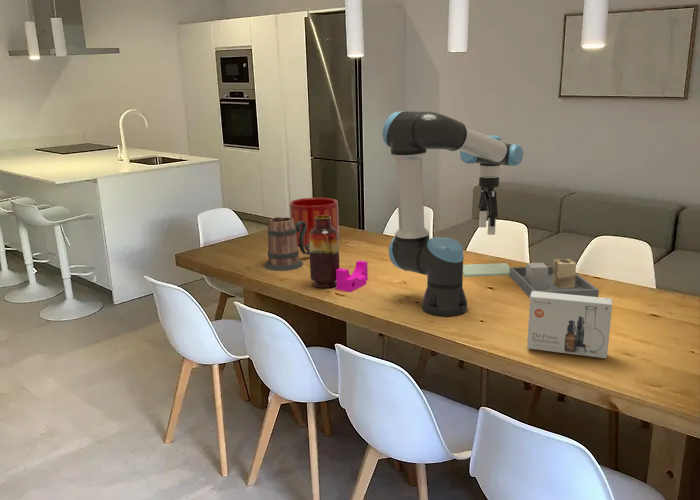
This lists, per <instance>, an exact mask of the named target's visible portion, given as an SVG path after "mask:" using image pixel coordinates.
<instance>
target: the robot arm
mask: <svg viewBox="0 0 700 500" xmlns="http://www.w3.org/2000/svg"><path fill="white" fill-rule="evenodd" d="M381 134H382V139H383V142H384V143H385V145H386V146H388V147H389V148H390V156H391V157H393V158H394V159H395V166H396V167H395V168H396V169H395V170H396V171H395V172H396V190H397V208H398V210H397V211H398V213H397V214H398V229H397V231H395V233H394V237H393V238H392V239H391V240H390V244H389V245H388V257H389V260H390V261H391V264H393V266H395V267H396V268H398V269H401V270H403V271H405V272H407V271H408V272H413V273H416V274H420V275H425V276H427V277H426V280H427V282H426V283H427V284H426V288H425V291H424V294H423V298H422V300H421V309H422V311H423V312H425V313H427V314H429V315H433V316H438V317H439V316H441V317H453V316H458V315H462V314H465V313H467V311H468V299H467V297H466V294H465V290H464V286H463V285H464V284H463V281H464V279H463V277H464V275H463V265H464V257H465V256H464V246H463V245H462V243H461V242H460V241H457V240H455V239H454V238H451V237H450V238H449V237H442V236H435V237H431V238H430V231H429V230H428V229H426V228H425V211H424V210H425V209H424V207H425V206H424V204H425V203H424V201H425V200H424V179H423V177H424V176H423V175H424V174H423V158H424V156H425V155H426V154H427V150H447V151H450V152H456V151H459V157H460V159H461V162H463V163H465V164H467V165H468V164H471V165H473V164H479V168H478V170H479V173H478V174H479V175H478V176H479V177H478V179H479V180H478V186H479V187H480V196H479V203H478V207H477V208H478V210H479V218H478V220H479V221H478V222H479V223H478V227H479V228H487V235H492V236H494V235H496V224H497V218H498V217H499V216H498V215H499V214H498V213H499V212H498V201H497V191H495V189H494V188H499V186H500V177H499V176H500V171H501V170H502V168H501V166H508V167H513V166H514V167H517V166H519V165H520V164H521V163H522V161H523V159H524V149H523V147H522V146H521V145H520V144H515V143H506V142H504V141H502V138H501V136H499V135H492V134H491V135H488V134H487V135H486V134H483V133H481V132H479V131H475V130H473V129H471V128H468V127H467V126H466V124H464V123H463V122H462V121H459V120H457V119H454V118H452V117H450V116H448V115H445V114H441V113H438V112H435V111H416V110H415V111H413V110H412V111H410V110H403V111H402V110H401V111H395V112H392V113H391V114H390V115H389V116H388V117H387V118H386V120H385V121H384V124H383V127H382V133H381Z"/></svg>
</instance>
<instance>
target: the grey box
mask: <svg viewBox="0 0 700 500" xmlns="http://www.w3.org/2000/svg"><path fill="white" fill-rule="evenodd" d="M525 264H526V266H525V267H526V281H527V282H528V283H529V284H530V285H531V286H532V287H533V288H534V289H547V281H548V267H547V266H548V265H546V264H545V263H544V262H526V263H525Z"/></svg>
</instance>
